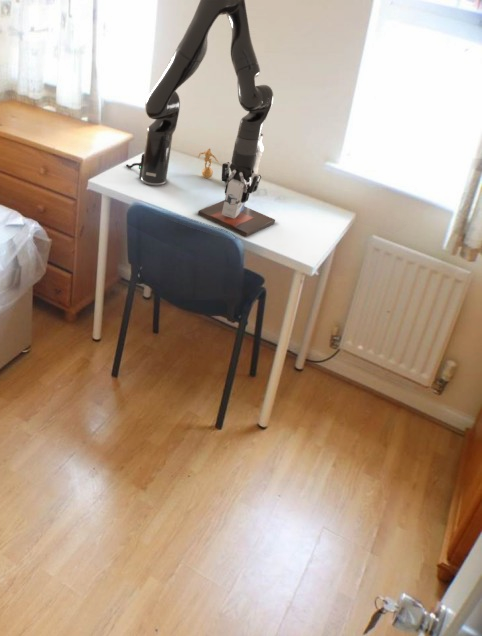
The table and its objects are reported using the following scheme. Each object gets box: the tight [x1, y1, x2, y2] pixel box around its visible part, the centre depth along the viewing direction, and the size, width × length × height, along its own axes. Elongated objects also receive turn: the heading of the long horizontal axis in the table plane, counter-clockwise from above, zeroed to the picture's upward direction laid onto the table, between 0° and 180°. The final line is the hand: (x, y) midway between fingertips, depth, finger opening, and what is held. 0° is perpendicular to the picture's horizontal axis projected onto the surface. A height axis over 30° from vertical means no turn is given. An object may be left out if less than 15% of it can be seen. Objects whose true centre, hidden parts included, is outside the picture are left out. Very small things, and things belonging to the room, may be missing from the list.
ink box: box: [222, 178, 247, 218], centre depth 235 cm, size 9×5×12 cm, turn 148°
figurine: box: [197, 148, 219, 179], centre depth 265 cm, size 8×6×12 cm
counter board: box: [197, 199, 276, 238], centre depth 241 cm, size 20×16×2 cm
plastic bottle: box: [250, 133, 265, 183], centre depth 258 cm, size 6×7×20 cm
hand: (235, 198), depth 235 cm, fingers closed on ink box, 5 cm apart
